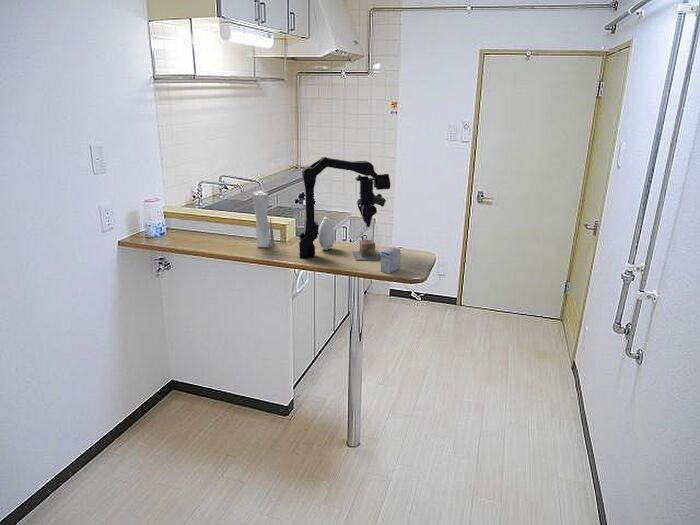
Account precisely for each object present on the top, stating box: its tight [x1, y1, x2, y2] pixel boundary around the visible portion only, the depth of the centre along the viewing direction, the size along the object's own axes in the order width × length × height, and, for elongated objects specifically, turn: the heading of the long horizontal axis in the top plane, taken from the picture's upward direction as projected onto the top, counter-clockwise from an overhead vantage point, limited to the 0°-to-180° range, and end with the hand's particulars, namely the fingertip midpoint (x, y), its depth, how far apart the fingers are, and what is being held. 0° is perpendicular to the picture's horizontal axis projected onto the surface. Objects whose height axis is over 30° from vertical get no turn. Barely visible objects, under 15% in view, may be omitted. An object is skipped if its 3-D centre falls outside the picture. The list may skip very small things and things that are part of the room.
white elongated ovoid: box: [317, 213, 336, 251], centre depth 233 cm, size 8×8×18 cm
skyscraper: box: [252, 189, 275, 249], centre depth 237 cm, size 8×8×28 cm
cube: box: [359, 239, 376, 257], centre depth 225 cm, size 6×6×6 cm
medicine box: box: [380, 246, 401, 274], centre depth 207 cm, size 8×4×9 cm, turn 141°
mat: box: [351, 249, 381, 262], centre depth 226 cm, size 12×12×1 cm
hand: (366, 224), depth 227 cm, fingers open, 9 cm apart
